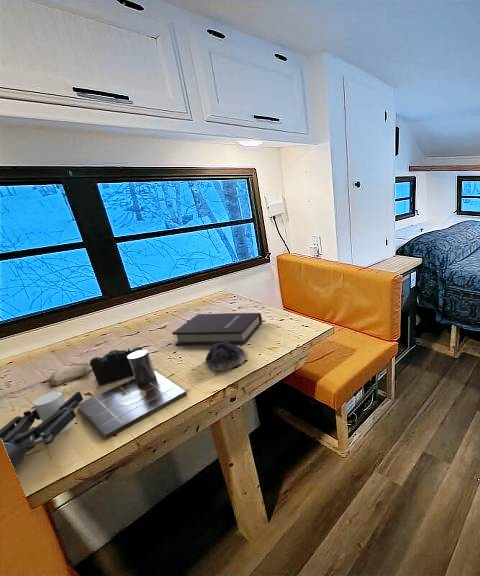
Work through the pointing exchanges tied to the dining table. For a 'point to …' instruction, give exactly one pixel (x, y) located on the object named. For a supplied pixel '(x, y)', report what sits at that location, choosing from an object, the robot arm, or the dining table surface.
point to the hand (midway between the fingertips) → (67, 397)
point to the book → (218, 329)
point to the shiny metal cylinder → (141, 367)
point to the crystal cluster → (224, 356)
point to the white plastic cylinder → (50, 407)
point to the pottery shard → (69, 373)
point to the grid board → (129, 404)
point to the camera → (112, 366)
